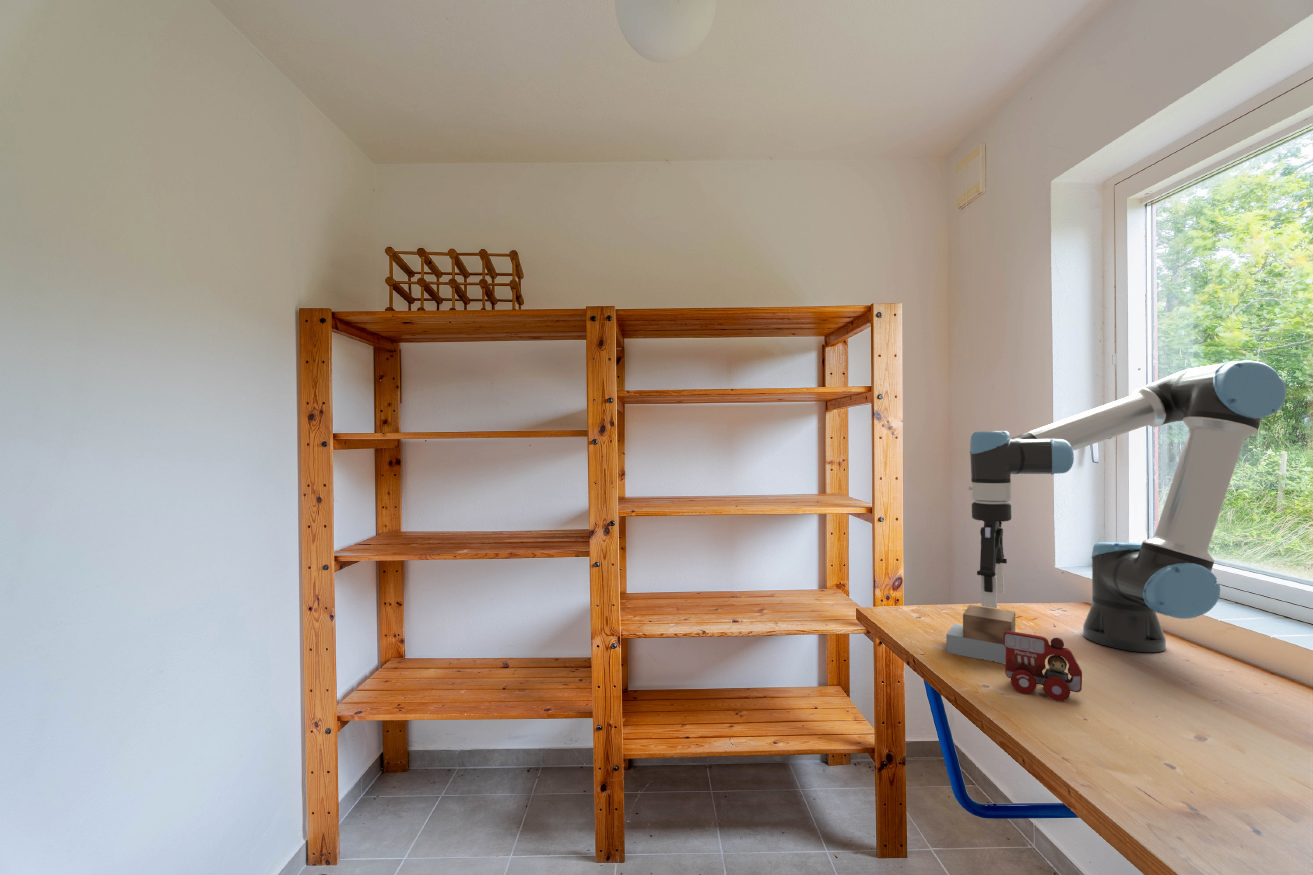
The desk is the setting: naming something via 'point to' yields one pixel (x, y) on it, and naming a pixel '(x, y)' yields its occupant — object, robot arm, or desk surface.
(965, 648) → the plinth
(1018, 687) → the toy fire truck
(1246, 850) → the desk surface
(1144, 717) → the desk surface
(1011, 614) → the walnut block
